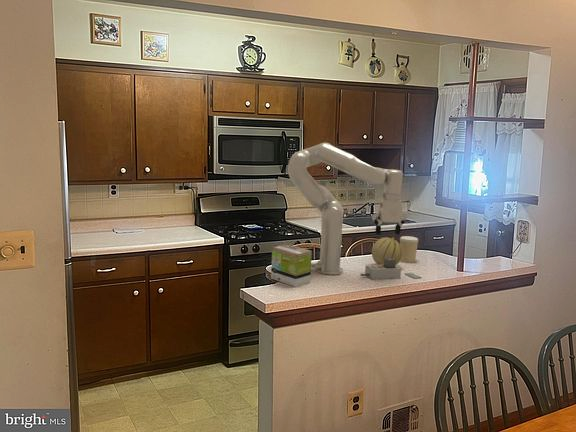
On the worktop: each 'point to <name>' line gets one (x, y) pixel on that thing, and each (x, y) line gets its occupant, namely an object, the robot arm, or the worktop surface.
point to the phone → (412, 275)
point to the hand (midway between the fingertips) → (387, 234)
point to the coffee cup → (408, 248)
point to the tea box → (291, 265)
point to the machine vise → (381, 272)
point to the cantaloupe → (386, 250)
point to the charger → (389, 263)
